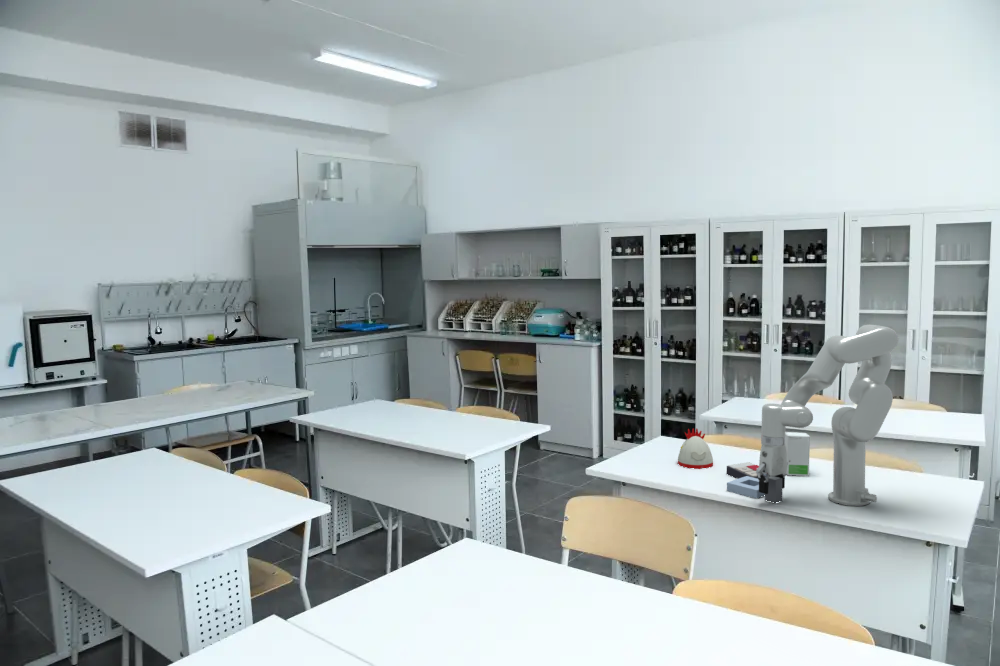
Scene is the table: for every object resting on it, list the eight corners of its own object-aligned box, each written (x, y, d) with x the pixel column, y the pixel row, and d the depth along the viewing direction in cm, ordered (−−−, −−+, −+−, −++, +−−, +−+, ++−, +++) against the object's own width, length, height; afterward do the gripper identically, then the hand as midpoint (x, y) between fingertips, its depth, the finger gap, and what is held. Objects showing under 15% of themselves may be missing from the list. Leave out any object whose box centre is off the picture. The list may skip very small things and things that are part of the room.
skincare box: (786, 475, 259) (786, 435, 258) (782, 471, 266) (782, 431, 265) (810, 476, 258) (810, 435, 257) (805, 471, 264) (805, 431, 263)
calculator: (752, 476, 250) (726, 463, 264) (752, 487, 250) (725, 474, 264) (776, 472, 253) (749, 460, 267) (776, 483, 254) (748, 471, 268)
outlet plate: (776, 491, 242) (776, 483, 241) (756, 498, 234) (756, 490, 234) (746, 483, 251) (746, 475, 251) (726, 490, 244) (726, 482, 244)
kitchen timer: (674, 460, 286) (674, 425, 285) (707, 459, 286) (707, 424, 285) (682, 469, 272) (681, 432, 271) (717, 468, 272) (716, 431, 271)
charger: (782, 501, 231) (782, 477, 231) (775, 503, 229) (775, 480, 228) (771, 498, 234) (771, 475, 234) (764, 501, 232) (764, 477, 231)
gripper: (768, 446, 222) (767, 498, 223) (797, 439, 232) (796, 488, 233) (748, 442, 228) (746, 492, 229) (777, 435, 238) (775, 482, 239)
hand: (771, 490), depth 231 cm, fingers open, 9 cm apart
